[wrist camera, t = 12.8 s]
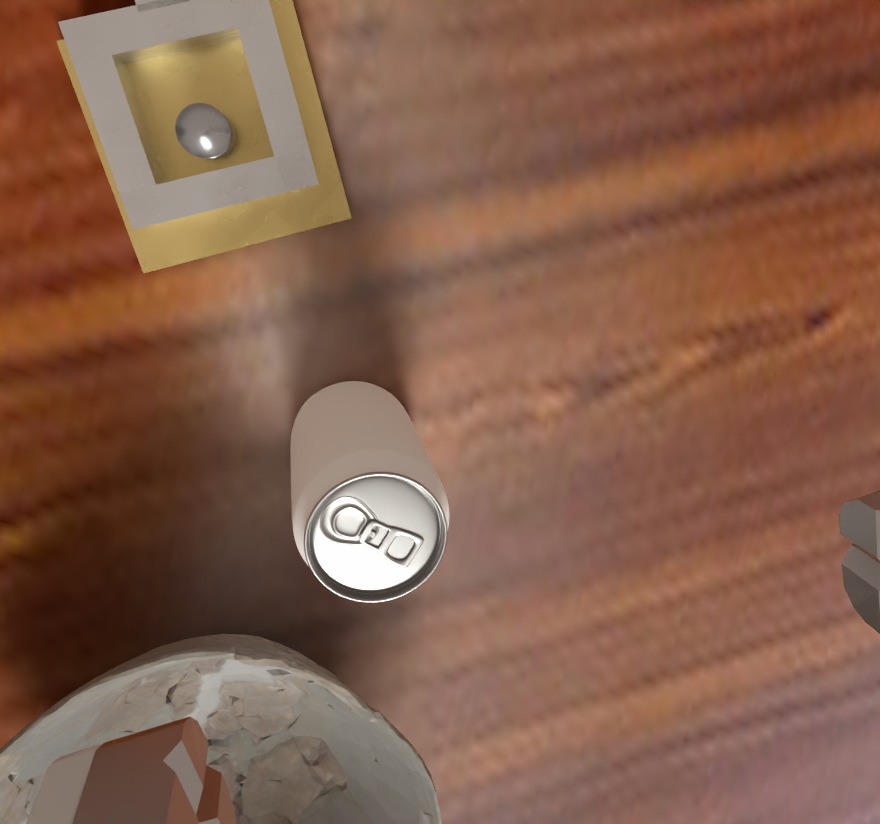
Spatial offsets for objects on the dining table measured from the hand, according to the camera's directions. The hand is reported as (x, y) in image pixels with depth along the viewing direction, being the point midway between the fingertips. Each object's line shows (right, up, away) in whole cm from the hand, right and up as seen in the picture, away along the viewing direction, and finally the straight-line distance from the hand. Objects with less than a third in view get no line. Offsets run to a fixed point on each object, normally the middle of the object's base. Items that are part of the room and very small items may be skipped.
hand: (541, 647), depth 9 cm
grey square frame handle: (-12, +19, +24) cm, 33 cm away
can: (-6, +2, +32) cm, 32 cm away
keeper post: (-12, +16, +26) cm, 32 cm away
